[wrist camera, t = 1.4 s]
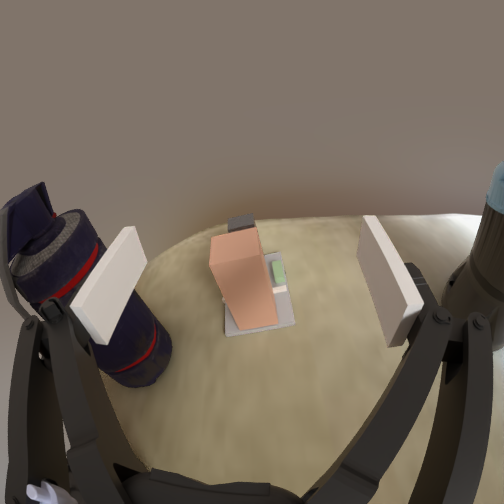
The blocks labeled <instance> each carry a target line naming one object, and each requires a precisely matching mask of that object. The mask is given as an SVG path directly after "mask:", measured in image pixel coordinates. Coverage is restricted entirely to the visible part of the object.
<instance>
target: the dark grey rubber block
mask: <svg viewBox="0 0 504 504" xmlns="http://www.w3.org/2000/svg"><path fill="white" fill-rule="evenodd" d="M254 227H256V224H255V220H254V216H253V213H251V214H247V215H243V216H238V217H234V218H229V219H228V232H229V233H231V232H236V231H240V230H245V229H249V228H254ZM256 228H257V227H256ZM257 232H258V231H257ZM261 247H262V246H261ZM262 251H263V250H262Z"/></svg>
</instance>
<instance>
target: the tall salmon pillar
mask: <svg viewBox="0 0 504 504" xmlns="http://www.w3.org/2000/svg"><path fill="white" fill-rule="evenodd" d="M209 267H210V269H211V271H212V273H213V275H214V277H215V280H216V282H217V284H218V286H219V288H220V290H221V292H222V295H223V297H222V301H223V303H227V305H228V307H229V309H230V311H231V313H232V316H233V318H234V320H235V322H236V324H237V326H238V328H239V330H240V331H241V330H247V329H253V328H258V327H264V326H269V325H275V324H279V323H278V316H277V309H276V303H275V296H274V293H279V292H284V291H287V288H286V285H284V286H279V287H274V288H272V285H271V281H270V277H269V273H268V270H267V266H266V262H265V258H264V254H263V251H262V247H261V243H260V239H259V235H258V232H257V228H256V227H254V228H249V229H245V230H240V231H236V232H231V233H227V234H222V235H218V236H214V237H211V248H210V260H209Z"/></svg>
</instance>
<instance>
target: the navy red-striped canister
mask: <svg viewBox="0 0 504 504" xmlns="http://www.w3.org/2000/svg"><path fill="white" fill-rule="evenodd" d="M56 216H57V215H56V213H54V212H53V209H52V206H51V203H50V200H49V196H48V193H47V190H46V186H45V183H44V182H40V183H39V184H36V185H34V186H32V187H30V188H28V189H26V190H24V191H23V192H22V193H21V194H19V195H17V196H15V197H13V198H12V199H11V200H9V201H8V202H7V203H6V204H5V205H4V207H3V208H2V209H1V210H0V278H1V281H2V284H3V287H4V291H5V293H6V297H7V299H8V301H9V303H10V304H11V305H12V306H13V307H14V308H15V310H16V311H17V312H18V313H19V314H20V315H21V316H22V317H23V318H24V320H25V319H27V318H28V317H30V316H31V315H30V314H29V313H28V312H27V311H26V310H25V309H24V308H23V307H22V305H21V304H20V303H19V300H18V297H17V294H16V290H15V288H16V289H17V290H18V292H19V293H20V294H21V295H22V296H23V297H24V298H25V300H26V301H27V302H30V305H31V306H32V308H33V309H34V310H35V311H36V312H37V313H38V314H39V315H40V316H41V314H40V313H39V308H40V306H41V305H42V303H43V302H44V301H45V300H47V299H48V298H51V297H57V298H58V299H59V301H60V302H61V304H62V305H63V307H64V308H65V306H66V305H67V303H68V301H69V300H70V298H71V297H72V295H73V293H74V292H76V289H77V287H78V286H79V284H80V283H81V281H82V280H83V278H84V277H85V276H86V275H88V274H89V273H90V272H92V271H93V269H94V268H95V266H96V265H97V263H98V262H99V261H100V259H101V258H102V256H103V255H104V254H105V252H106V251H107V248H106V247H105V245H104V244H103V242H102V241H101V239H100V238H99V237H98V235H97V233H96V231H95V229H94V228H93V226H92V225H91V223H90V221H89V219H88V217H87V216H86V214H85V212H84V211H83V210H80V209H74V210H70V211H67V212H65V213H63V214H61V215H59V216H57V217H56ZM15 255H16V257H15ZM14 257H15V258H14ZM13 258H14V260H13V262H12V264H11V266H10V269H9V266H8V264H9V262H10V261H11V260H12V259H13ZM41 317H42V316H41ZM42 318H43V317H42ZM43 319H44V318H43ZM89 343H90V344H91V346H92V350H93V353H94V357H95V360H96V363H97V366H98V368H99V369H101V370H102V371H103V372H105V373H106V374H107V375H109V376H110V377H111V378H113V379H114V380H116V381H117V382H118V383H120V384H121V385H123V386H126V387H134V388H136V387H141V386H142V387H144V386H148V385H151V384H153V383H155V381H156V378H158V377H159V376H160V374H161V373H162V372H163V371H164V370H165V368H166V366H167V365H168V363H169V360H170V357H171V352H172V342H171V338H170V336H169V334H168V332H167V331H166V330H165V328H164V327H163V326H162V325H161V324H160V322H159V321H158V320H157V319H156V317H155V316H154V315H153V313H152V312H151V311H150V309H149V308H148V307H147V305H146V304H145V303H144V301H143V300H142V299H141V297H140V296H139V295H138V293H137V292H136V291H135V289H133V291H132V293H131V295H130V297H129V299H128V301H127V304H126V306H125V308H124V310H123V312H122V314H121V316H120V318H119V320H118V323H117V325H116V327H115V329H114V331H113V334H112V336H111V338H110V340H109V343H108V345H103V344H98V343H96V342H95V341H94V340H93V338H92V337H90V339H89Z"/></svg>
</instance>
